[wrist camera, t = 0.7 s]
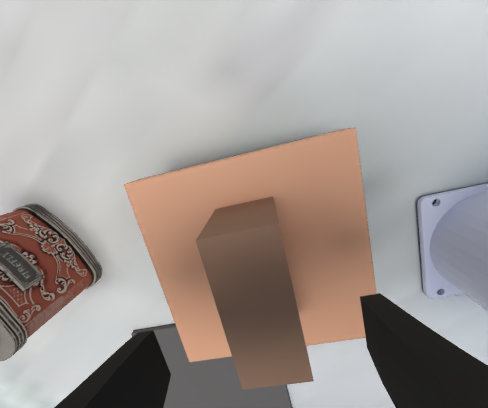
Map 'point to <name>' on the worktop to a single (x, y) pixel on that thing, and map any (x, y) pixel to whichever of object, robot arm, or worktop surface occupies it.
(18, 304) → the ornate red tin
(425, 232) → the robot arm
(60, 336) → the worktop surface
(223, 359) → the mat
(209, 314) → the lid
